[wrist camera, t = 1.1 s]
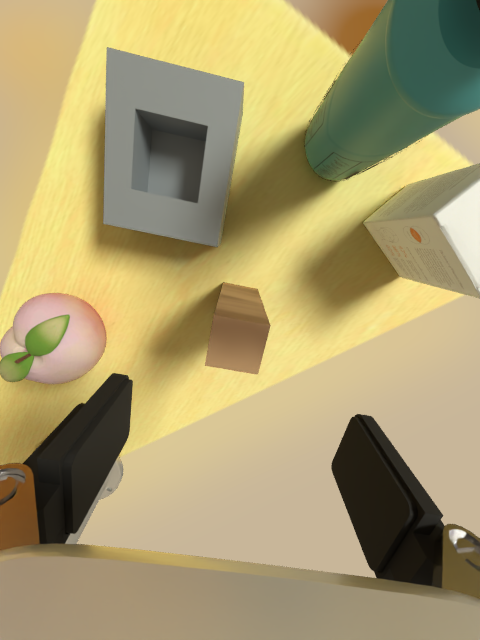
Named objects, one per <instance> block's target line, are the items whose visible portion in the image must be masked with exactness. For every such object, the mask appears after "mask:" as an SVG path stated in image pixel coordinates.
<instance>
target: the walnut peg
mask: <svg viewBox="0 0 480 640" xmlns="http://www.w3.org/2000/svg"><path fill="white" fill-rule="evenodd" d="M269 329H270V323H269V320H268V317H267V315H266V312H265V309H264V306H263V303H262V300H261V297H260V295H259V292H258V289H255V288H249V287H244V286H239V285H234V284H229V283H224V282H223V285H222V289H221V292H220V295H219V299H218V302H217V306H216V309H215V312H214V317H213V322H212V328H211V334H210V340H209V345H208V351H207V357H206V362H205V366H211V367H217V368H223V369H228V370H234V371H240V372H246V373H252V374H258V372H259V368H260V364H261V360H262V356H263V352H264V348H265V344H266V341H267V337H268V333H269Z"/></svg>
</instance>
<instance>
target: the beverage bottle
mask: <svg viewBox="0 0 480 640" xmlns="http://www.w3.org/2000/svg"><path fill="white" fill-rule="evenodd" d="M348 57H349V56H348ZM343 66H344V65H343ZM339 74H340V75H339V77H338V78H337V80H336V81H335V80H334V81H335V82H334V81H333V83H334V84H333V83H332V87H331V86H330V87H331V89H330V90H329V92H328V90H327V92H328V93H327V95H326V94H325V95H326V97H325V96H324V97H325V98H324V101H323V103H322V101H321V103H320V105H321V106H320V108H319V109H318V111H317V112H316V114H315V115H314V114H313V115H314V116H313V119H312V120H311V119H310V121H311V123H309V124H310V125H309V127H307V129H308V130H307V133H306V138H305V139H306V140H305V139H304V140H305V145H304V147H305V150H306V156H307V159H308V162H309V164H310V166H311V167H312V169H313V171H314V172H316V174H317V175H318V176H319V175H320V176H321V178H322V177H323V179H324V178H326V179H329V180H330V181H331V180H338V181H334V182H340V181H343V179H346V180H347V179H349V178H350V177H351V176H353V175H355V174H357V173H359V172H361V171H362V170H364V169H365V170H364V171H366V170H368V169H370V168H372V167H374V166H376V165H377V162H378V164H379V161H381V160H384V159H385V158H386V159H387V157H388V158H389V156H391V155H392V154H394V153H396V152H397V154H398V153H400V152H398V151H401V150H402V149H404V148H407V146H409V145H411V144H413V143H414V142H416V141H417V140H419V139H421V138H423V137H424V138H425V136H426V135H428V134H430V133H432V132H434V131H436V130H438V129H439V128H441V127H443V126H445V125H447V124H448V123H450V122H452V121H454V120H456V119H458V118H460V117H462V116H463V115H466V114H469V113H471V112H474V111H476V110H478V109H480V0H388V1H387V3H386V4H385V6H384V7H383V9H382V11H381V13H380V14H379V15H378V17H377V18H376V20H375V22H374V23H373V25H372V26H371V28H370V29H369V31H368V33H367V34H366V36H365V37H364V39H363V40H362V42H361V43H360V45H359V47H358V48H357V50H356V51H355V53H354V54H353V55H352V57H351V58H350V60H349V61H348V63H347V64H346V66H345V67H344V69H343V70H342V71H341V72H340V73H339ZM322 100H323V99H322ZM318 107H319V105H318ZM419 142H420V141H419ZM416 144H417V143H416ZM401 152H402V151H401ZM392 157H393V156H391V158H392ZM386 159H385V160H386ZM389 159H390V158H389ZM375 163H376V164H375ZM381 163H382V162H381ZM373 164H375V165H374V166H372V165H373ZM370 166H372V167H370ZM368 167H370V168H368ZM367 168H368V169H367ZM364 171H363V172H364ZM361 173H362V172H361ZM359 174H360V173H359ZM357 175H358V174H357ZM326 179H325V180H326ZM350 179H351V178H350ZM339 180H340V181H339Z"/></svg>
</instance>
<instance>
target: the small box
mask: <svg viewBox="0 0 480 640" xmlns="http://www.w3.org/2000/svg"><path fill="white" fill-rule="evenodd" d="M363 224H364V225H365V227H366V228H367V230H368V231H369V232H370V234H371V235H372V237H373V238H374V240H375V241H376V243H377V244H378V245H379V247H380V248H381V250H382V251H383V253H384V254H385V256H386V257H387V259H388V260H389V261H390V263H391V264H392V266H393V267H394V269H395V270H396V272H397V273H398V275H399V276H400V277H402V278H405V279H409V280H413V281H416V282H420V283H424V284H428V285H431V286H435V287H439V288H443V289H446V290H450V291H454V292H458V293H461V294H465V295H469V296H473V297H476V298H480V164H476V165H473V166H470V167H466V168H463V169H459V170H456V171H452V172H449V173H446V174H442V175H439V176H435V177H432V178H429V179H425V180H422V181H419V182H415V183H412V184H409V185H407V186H405V187H404V188H403V189H402V190H401V191H399V192H398V193H397V194H396V195H395V196H393V197H392V198H391V199H390V200H389V201H387V202H386V203H385V204H384V205H383V206H381V207H380V208H379V209H378V210H377V211H375V212H374V213H373V214H372V215H371V216H369V217H368V218H367V219H366V220H365V221H364V222H363Z"/></svg>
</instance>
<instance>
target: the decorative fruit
mask: <svg viewBox="0 0 480 640" xmlns="http://www.w3.org/2000/svg"><path fill="white" fill-rule="evenodd" d="M105 347H106V330H105V327H104V324H103V321H102V319H101V317H100V316H99V314H98V313H97V312H96V310H95V309H94V308H93V307H92V306H91V305H90V304H88V303H87V302H85V301H84V300H82V299H80V298H78V297H75V296H72V295H68V294H62V293H48V294H42V295H39V296H36V297H33V298H31V299H30V300H28V301H27V302H25V303H24V304H23V305H22V306H21V307H20V309H19V310H18V312H17V314H16V315H15V318H14V321H13V327H11V328H10V329H9V330H8V331H7V332H6V334H5V335H4V336H3V338H2V340H1V343H0V354H1V357H2V360H1V362H0V375H1V376H2V378H3V379H4V380H6V381H9V382H16V381H20V380H22V379H24V378H25V379H28V380H32V381H36V382H41V383H46V384H61V383H66V382H70V381H73V380H75V379H77V378H79V377H81V376H83V375H84V374H86V373H87V372H88V371H90V370H91V369H92V368H93V367H94V366H95V365H96V364H97V362H98V361H99V360H100V358H101V357H102V355H103V353H104V350H105Z"/></svg>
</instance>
